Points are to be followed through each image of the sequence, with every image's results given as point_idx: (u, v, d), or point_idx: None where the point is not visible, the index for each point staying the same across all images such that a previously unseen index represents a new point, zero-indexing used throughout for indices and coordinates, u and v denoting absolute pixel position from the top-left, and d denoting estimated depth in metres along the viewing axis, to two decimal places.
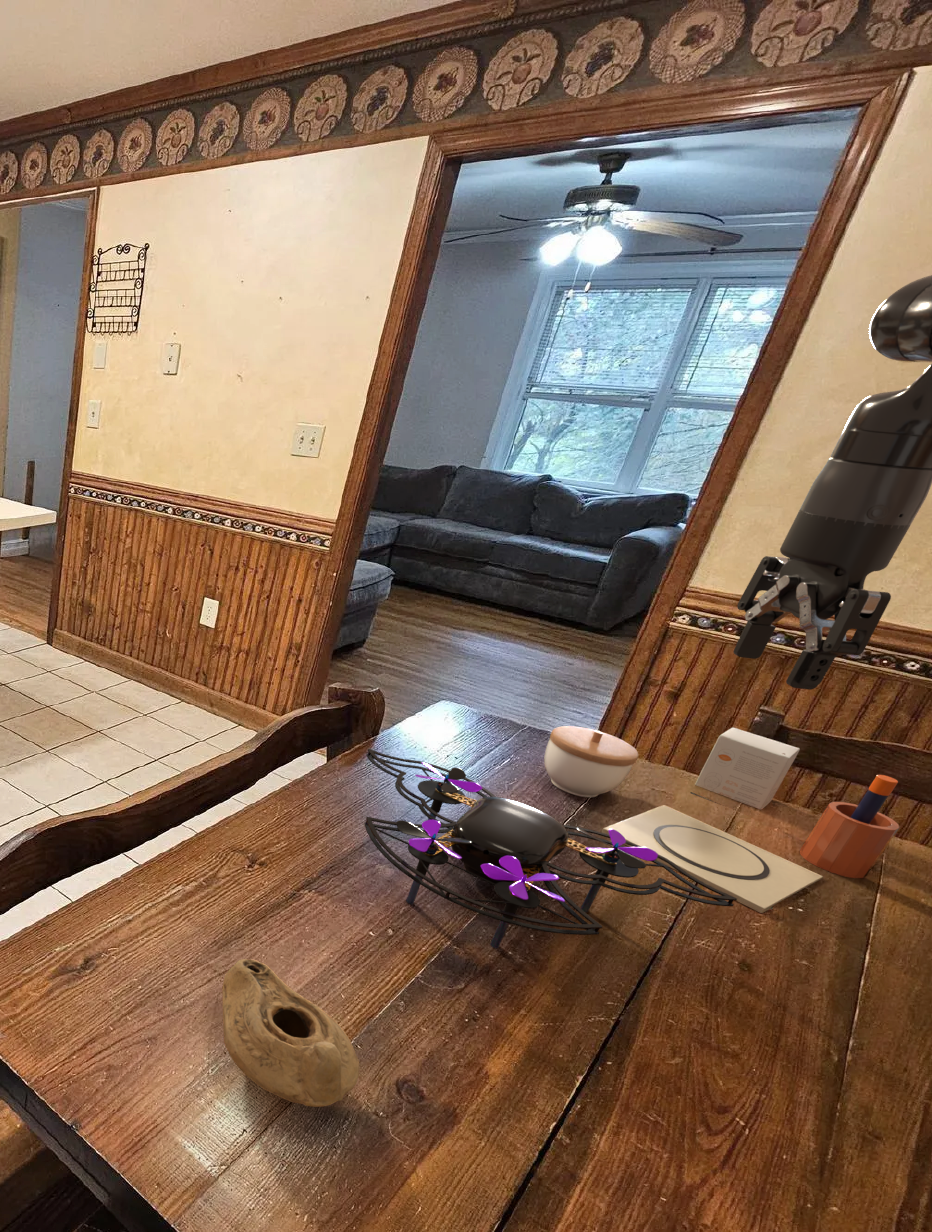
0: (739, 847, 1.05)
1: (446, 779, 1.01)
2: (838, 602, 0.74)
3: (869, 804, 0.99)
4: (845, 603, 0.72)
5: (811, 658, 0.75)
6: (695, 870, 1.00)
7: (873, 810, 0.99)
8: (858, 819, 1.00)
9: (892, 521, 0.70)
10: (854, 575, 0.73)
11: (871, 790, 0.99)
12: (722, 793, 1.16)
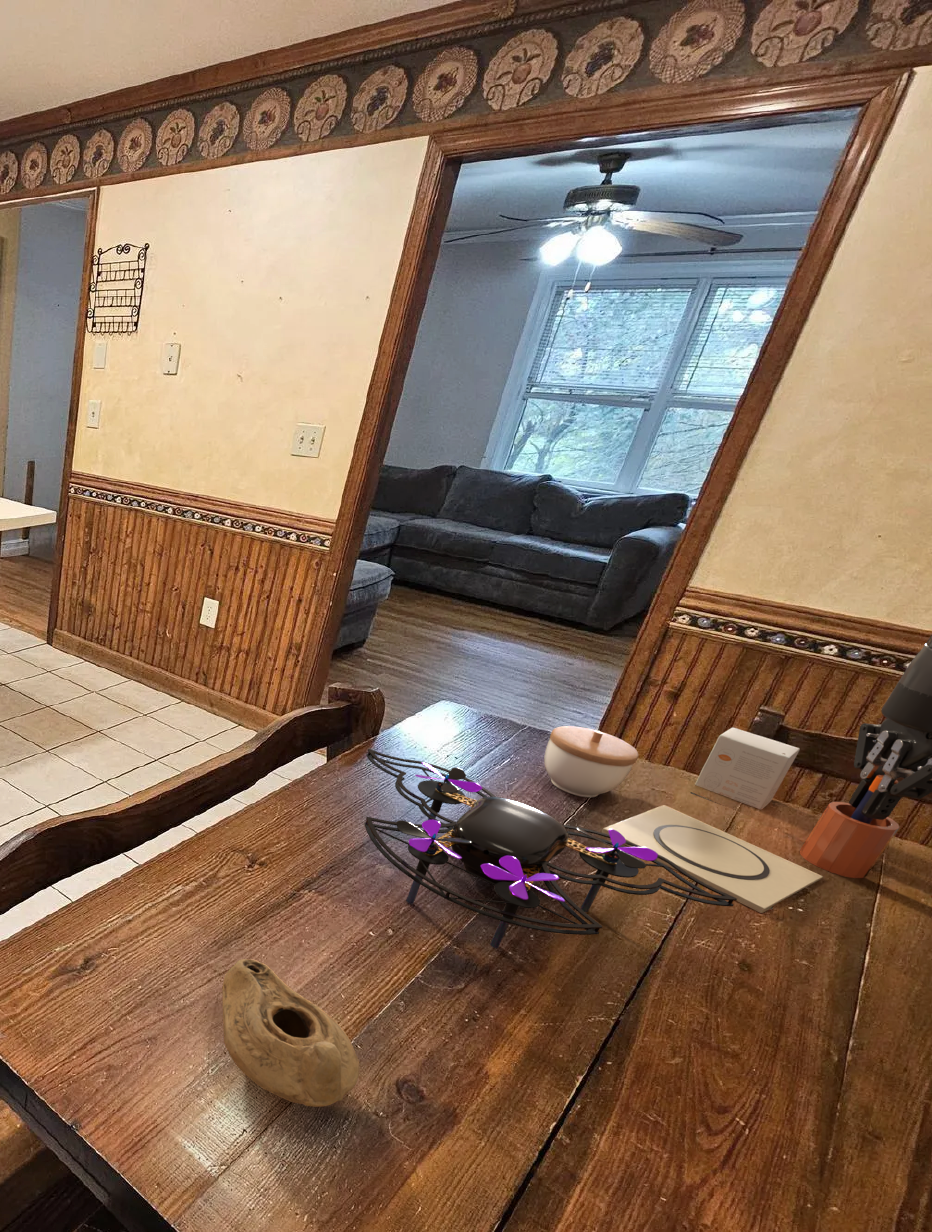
0: (739, 847, 1.05)
1: (446, 779, 1.01)
2: None
3: None
4: (921, 770, 0.92)
5: (882, 796, 0.97)
6: (695, 870, 1.00)
7: None
8: (858, 819, 1.00)
9: None
10: None
11: (871, 790, 0.99)
12: (722, 793, 1.16)
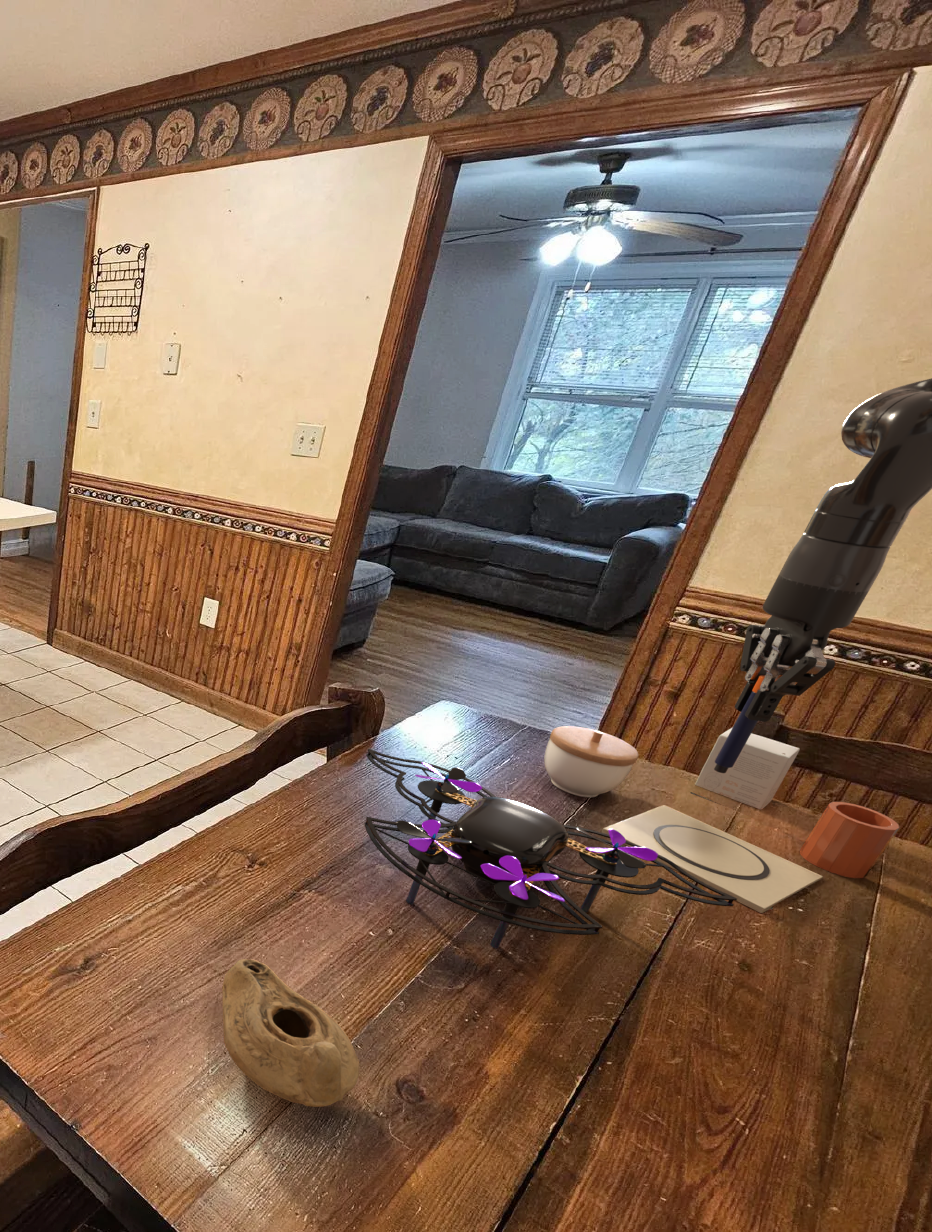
0: (739, 847, 1.05)
1: (446, 779, 1.01)
2: None
3: None
4: (798, 663, 0.89)
5: (764, 696, 0.94)
6: (695, 870, 1.00)
7: None
8: (742, 722, 0.97)
9: (850, 588, 0.86)
10: (818, 630, 0.88)
11: (754, 691, 0.95)
12: (722, 793, 1.16)
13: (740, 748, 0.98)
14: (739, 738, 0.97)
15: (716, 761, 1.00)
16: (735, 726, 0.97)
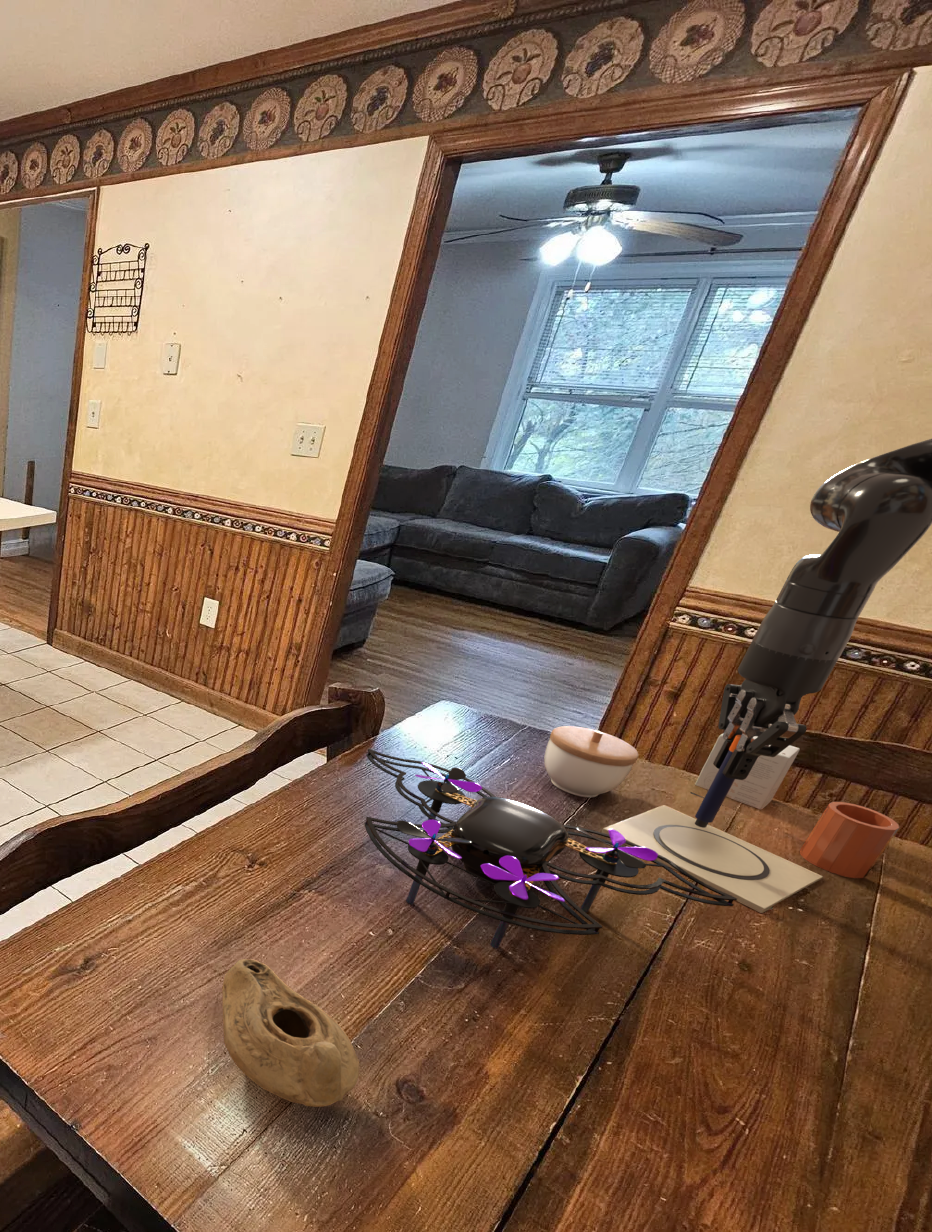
0: (739, 847, 1.05)
1: (446, 779, 1.01)
2: None
3: None
4: (771, 727, 0.92)
5: (740, 756, 0.97)
6: (695, 870, 1.00)
7: None
8: (720, 780, 1.00)
9: (820, 657, 0.89)
10: (790, 696, 0.91)
11: (730, 750, 0.98)
12: None
13: (719, 805, 1.01)
14: (718, 795, 1.00)
15: (696, 816, 1.03)
16: (713, 783, 1.00)
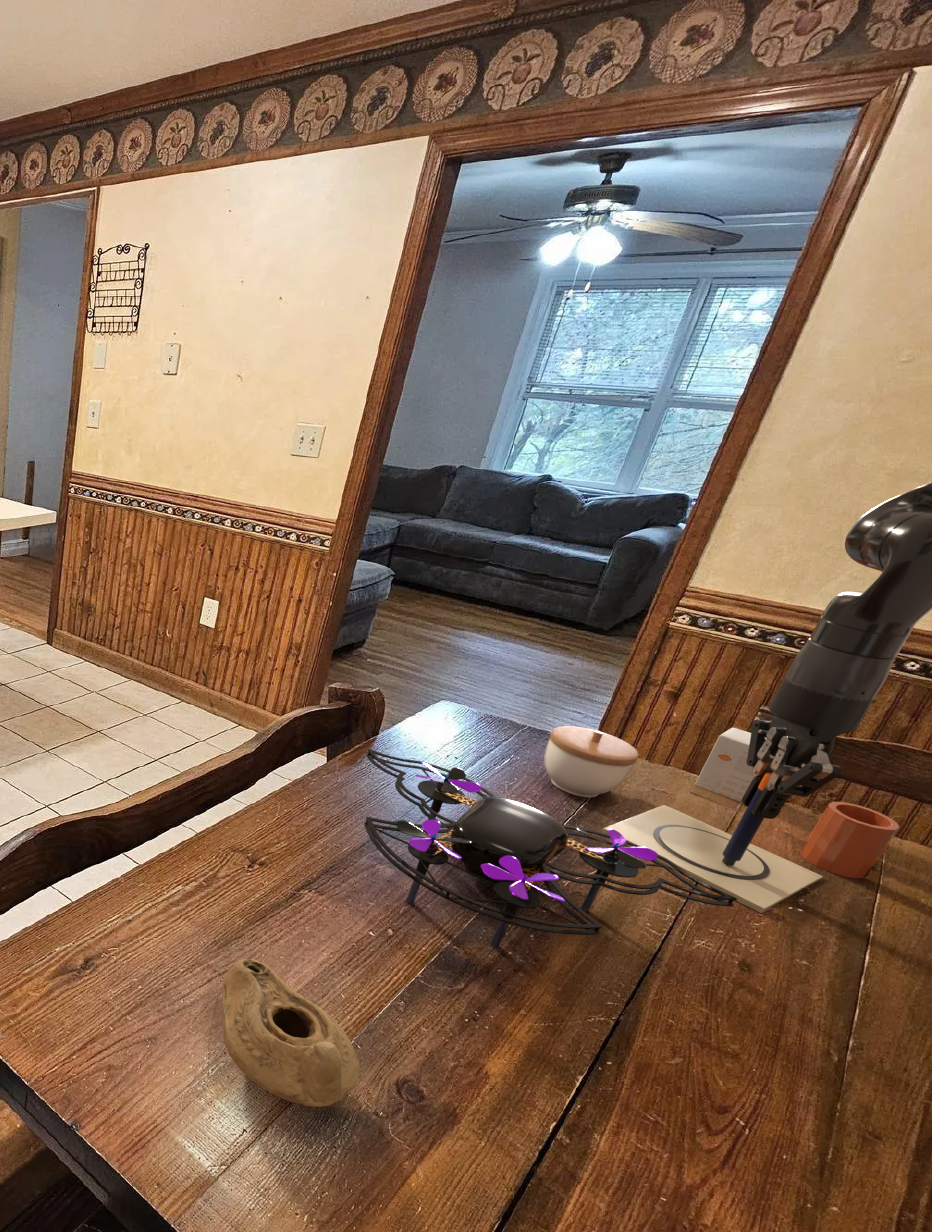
0: None
1: (446, 779, 1.01)
2: None
3: None
4: (804, 767, 0.90)
5: (770, 795, 0.95)
6: (695, 870, 1.00)
7: None
8: (749, 818, 0.98)
9: (855, 697, 0.87)
10: (824, 736, 0.89)
11: (760, 788, 0.96)
12: (722, 793, 1.16)
13: (748, 843, 0.99)
14: (746, 833, 0.98)
15: (724, 854, 1.01)
16: (742, 821, 0.98)
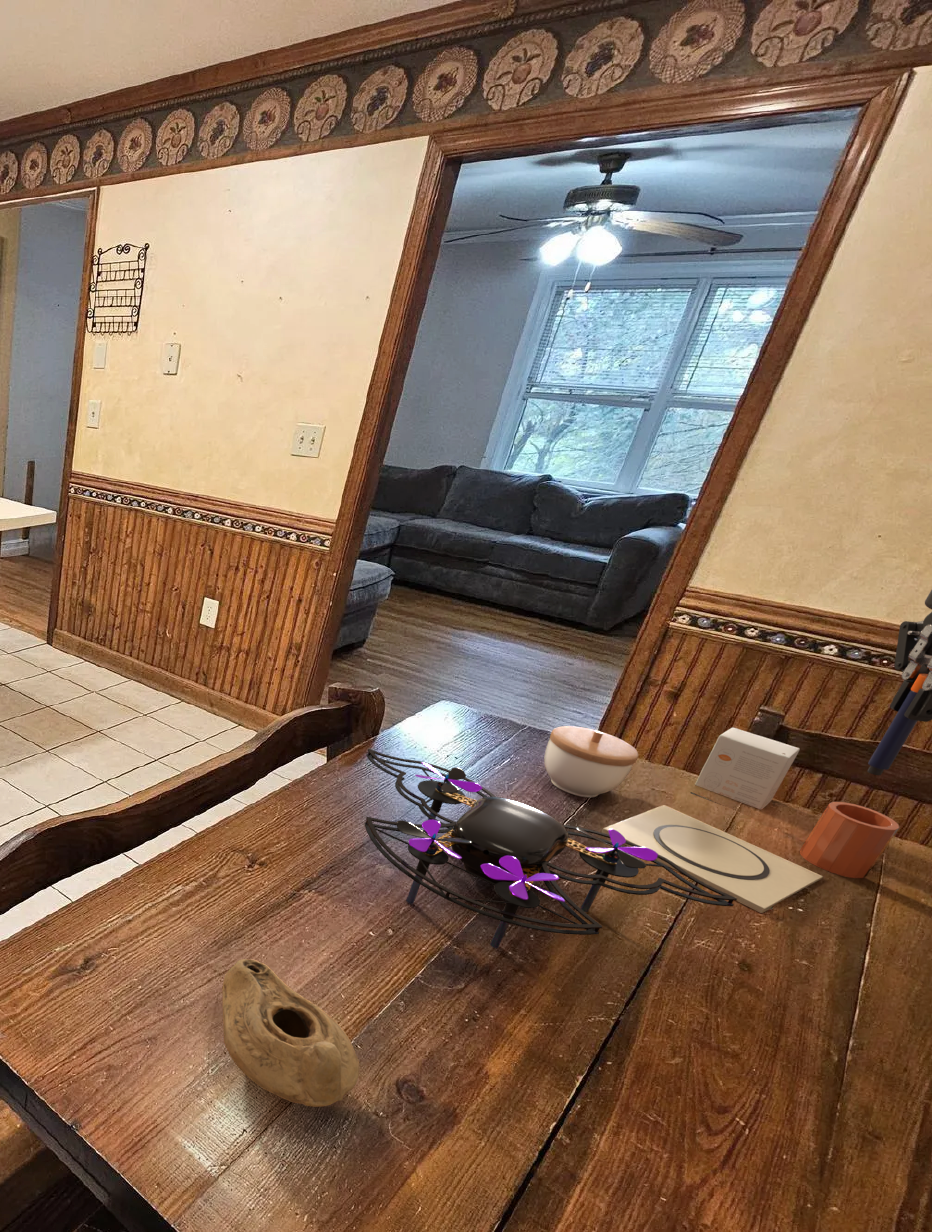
0: (739, 847, 1.05)
1: (446, 779, 1.01)
2: None
3: None
4: None
5: (927, 695, 0.91)
6: (695, 870, 1.00)
7: None
8: (900, 723, 0.93)
9: None
10: None
11: (913, 690, 0.92)
12: (722, 793, 1.16)
13: (898, 749, 0.94)
14: (897, 739, 0.94)
15: (870, 763, 0.96)
16: (892, 726, 0.94)
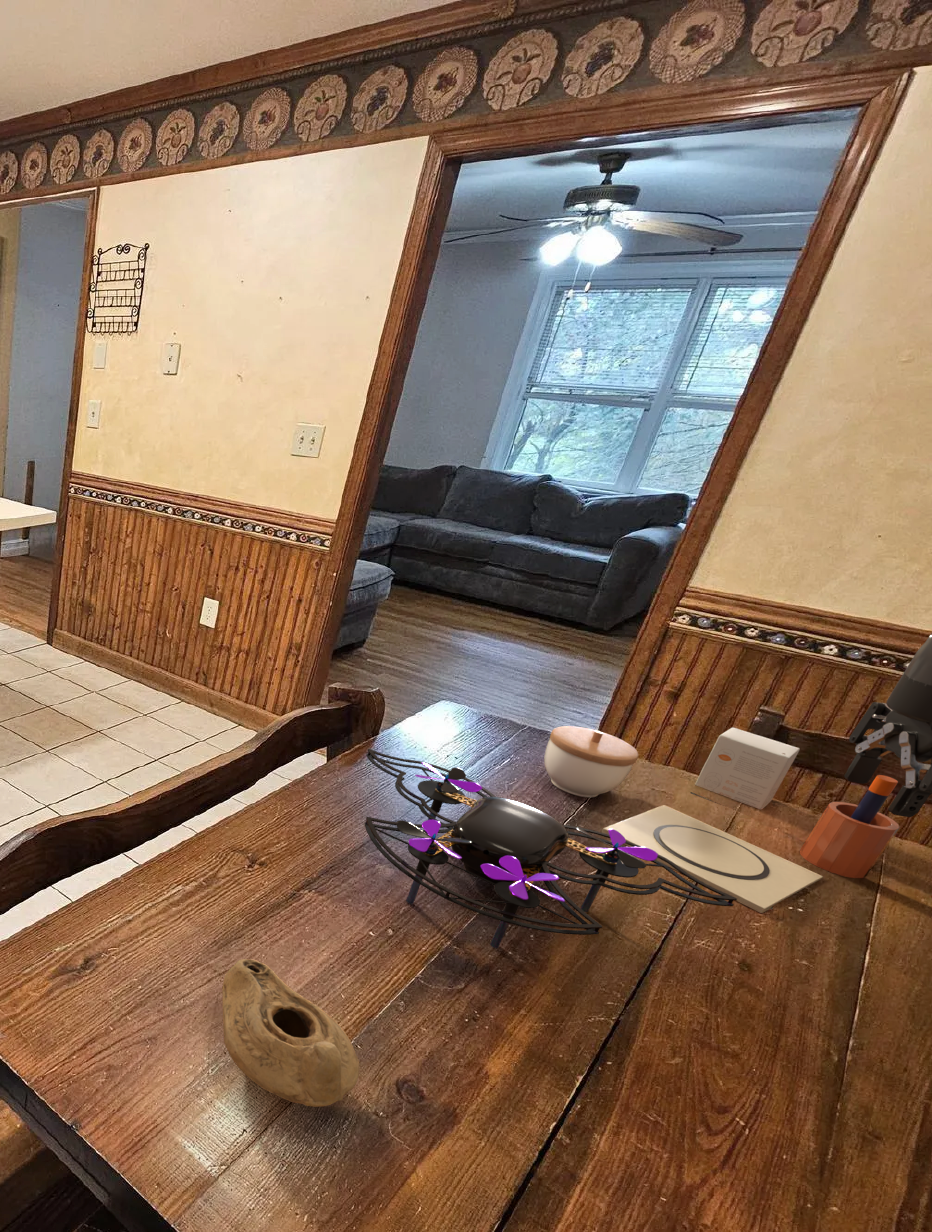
0: (739, 847, 1.05)
1: (446, 779, 1.01)
2: None
3: (869, 804, 0.99)
4: None
5: (910, 793, 0.94)
6: (695, 870, 1.00)
7: (873, 810, 0.99)
8: (858, 819, 1.00)
9: None
10: None
11: (871, 790, 0.99)
12: (722, 793, 1.16)
13: None
14: None
15: None
16: None
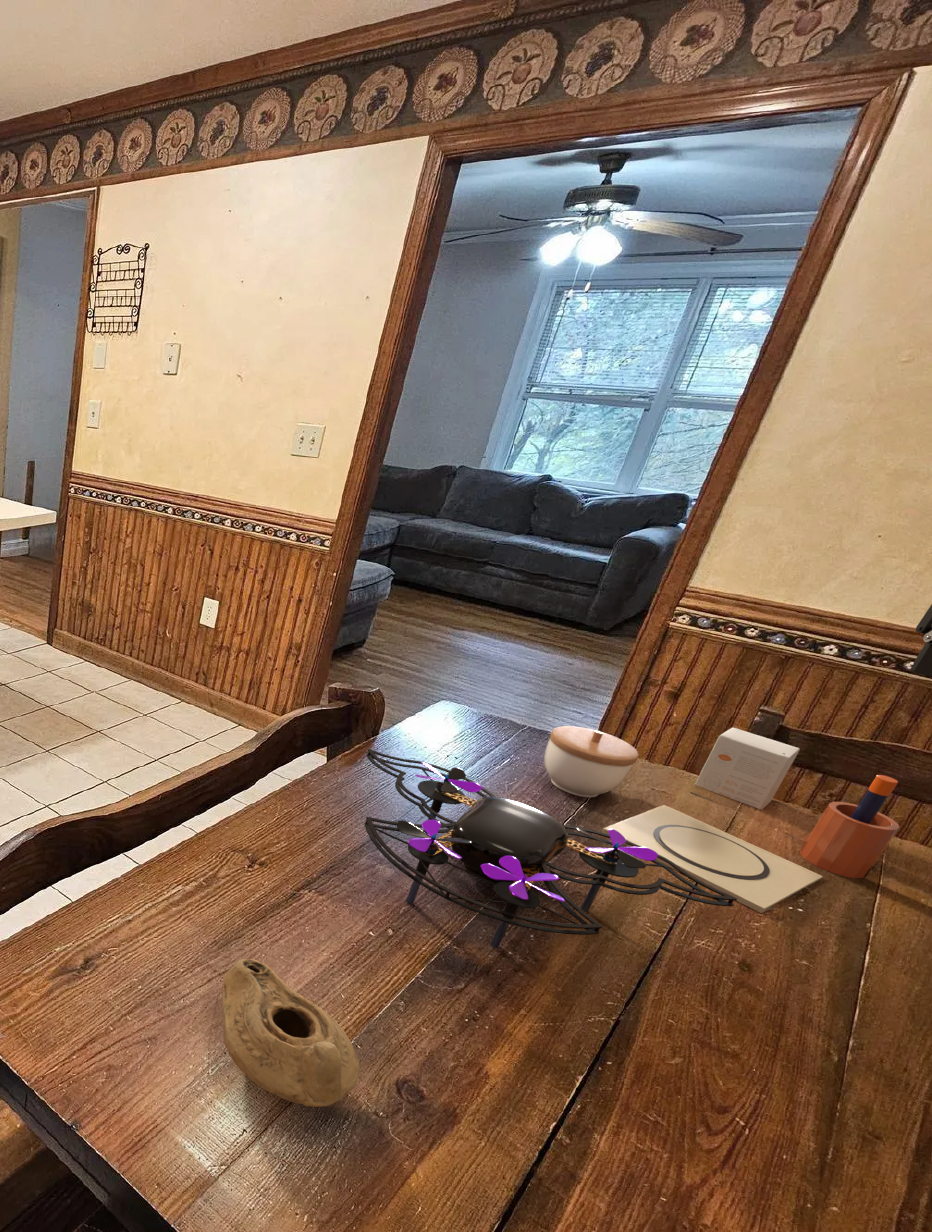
0: (739, 847, 1.05)
1: (446, 779, 1.01)
2: None
3: (869, 804, 0.99)
4: None
5: None
6: (695, 870, 1.00)
7: (873, 810, 0.99)
8: (858, 819, 1.00)
9: None
10: None
11: (871, 790, 0.99)
12: (722, 793, 1.16)
13: None
14: None
15: None
16: None
